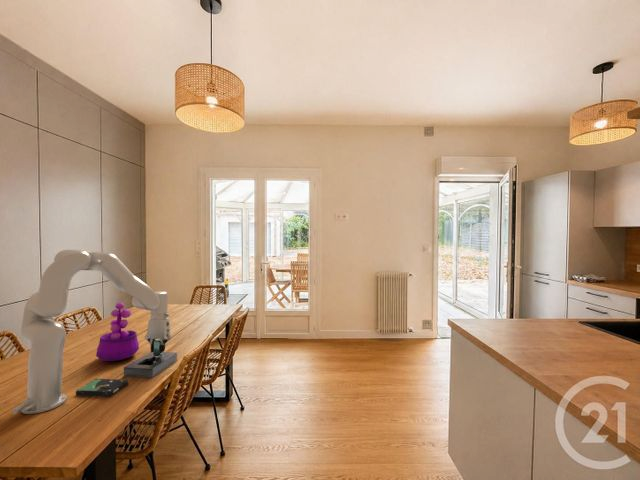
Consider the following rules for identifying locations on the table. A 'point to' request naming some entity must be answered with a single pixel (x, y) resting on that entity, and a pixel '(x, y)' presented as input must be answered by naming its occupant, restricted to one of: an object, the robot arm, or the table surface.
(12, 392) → the table surface
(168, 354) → the keyhole deck
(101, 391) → the disk drive
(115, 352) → the decorative plant
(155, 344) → the teal rounded piece
